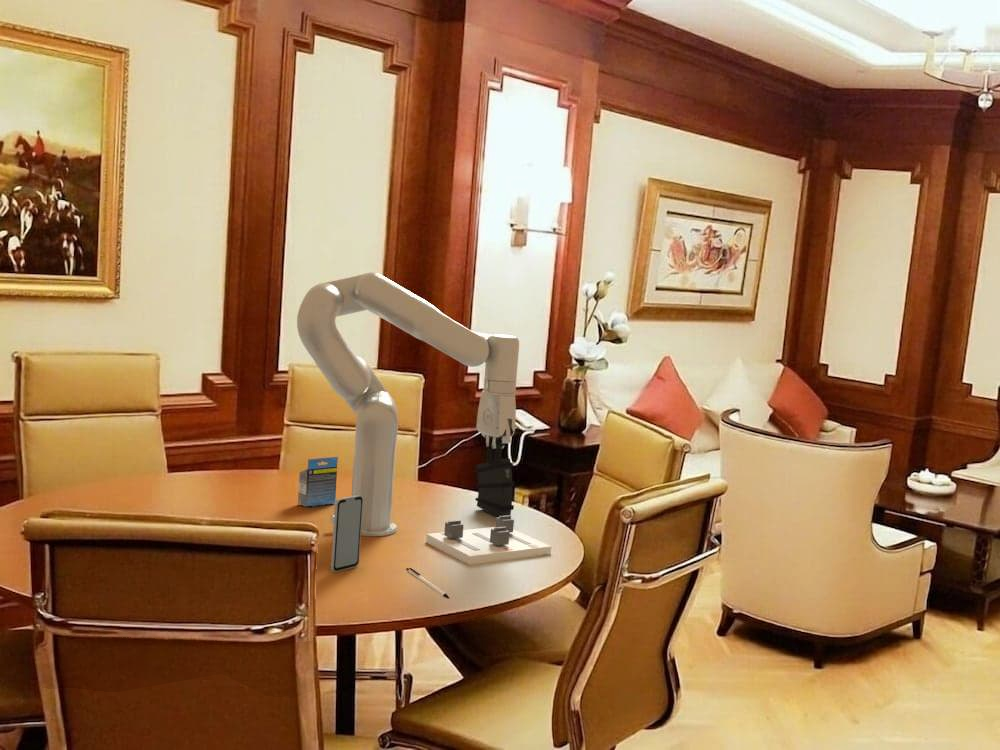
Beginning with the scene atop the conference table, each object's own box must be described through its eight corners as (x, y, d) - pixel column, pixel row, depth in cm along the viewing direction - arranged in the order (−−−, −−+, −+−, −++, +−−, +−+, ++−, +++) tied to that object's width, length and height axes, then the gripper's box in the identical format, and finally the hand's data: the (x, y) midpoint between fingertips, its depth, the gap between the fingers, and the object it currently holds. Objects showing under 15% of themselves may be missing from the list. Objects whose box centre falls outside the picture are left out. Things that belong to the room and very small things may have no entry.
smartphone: (332, 572, 205) (337, 499, 203) (329, 571, 205) (333, 499, 204) (358, 566, 211) (363, 495, 209) (355, 564, 211) (360, 494, 210)
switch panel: (469, 565, 217) (470, 555, 217) (426, 542, 232) (426, 533, 232) (550, 554, 230) (551, 545, 230) (504, 533, 245) (505, 525, 244)
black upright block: (508, 518, 254) (500, 458, 257) (477, 523, 264) (470, 466, 267) (520, 517, 257) (512, 458, 259) (489, 522, 267) (481, 465, 269)
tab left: (451, 538, 228) (452, 523, 227) (444, 535, 230) (445, 519, 230) (462, 537, 230) (463, 522, 229) (455, 534, 232) (456, 518, 232)
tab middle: (497, 545, 225) (498, 529, 225) (489, 542, 228) (491, 526, 227) (508, 544, 227) (509, 528, 227) (500, 540, 229) (502, 525, 229)
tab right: (502, 533, 236) (503, 518, 235) (495, 529, 238) (496, 514, 238) (512, 532, 238) (514, 517, 237) (505, 528, 240) (506, 513, 240)
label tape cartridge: (327, 500, 263) (330, 453, 261) (335, 504, 260) (338, 456, 258) (297, 504, 257) (300, 456, 255) (305, 507, 254) (308, 459, 253)
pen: (408, 570, 211) (409, 565, 211) (451, 600, 195) (451, 595, 195) (404, 571, 211) (405, 565, 211) (446, 601, 195) (447, 595, 194)
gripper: (469, 382, 243) (463, 458, 245) (504, 392, 231) (498, 471, 233) (495, 382, 247) (489, 457, 249) (531, 392, 235) (524, 470, 237)
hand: (493, 463), depth 241 cm, fingers closed
